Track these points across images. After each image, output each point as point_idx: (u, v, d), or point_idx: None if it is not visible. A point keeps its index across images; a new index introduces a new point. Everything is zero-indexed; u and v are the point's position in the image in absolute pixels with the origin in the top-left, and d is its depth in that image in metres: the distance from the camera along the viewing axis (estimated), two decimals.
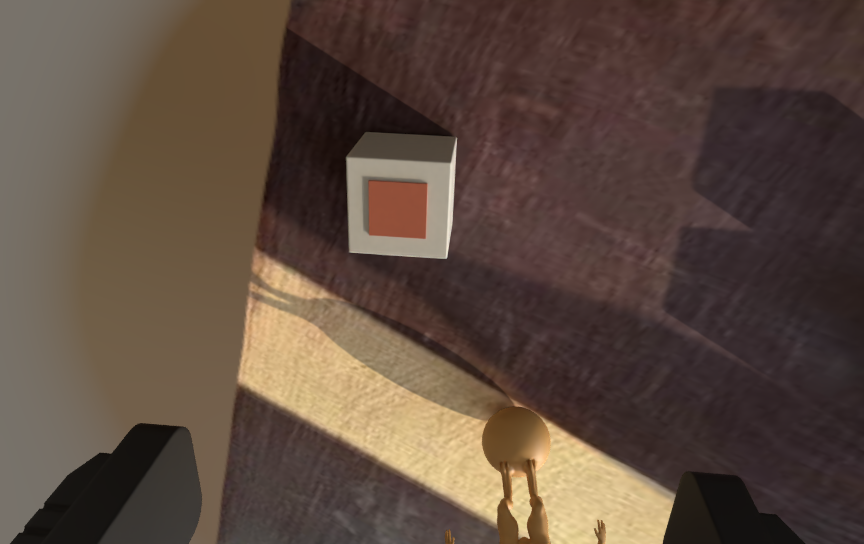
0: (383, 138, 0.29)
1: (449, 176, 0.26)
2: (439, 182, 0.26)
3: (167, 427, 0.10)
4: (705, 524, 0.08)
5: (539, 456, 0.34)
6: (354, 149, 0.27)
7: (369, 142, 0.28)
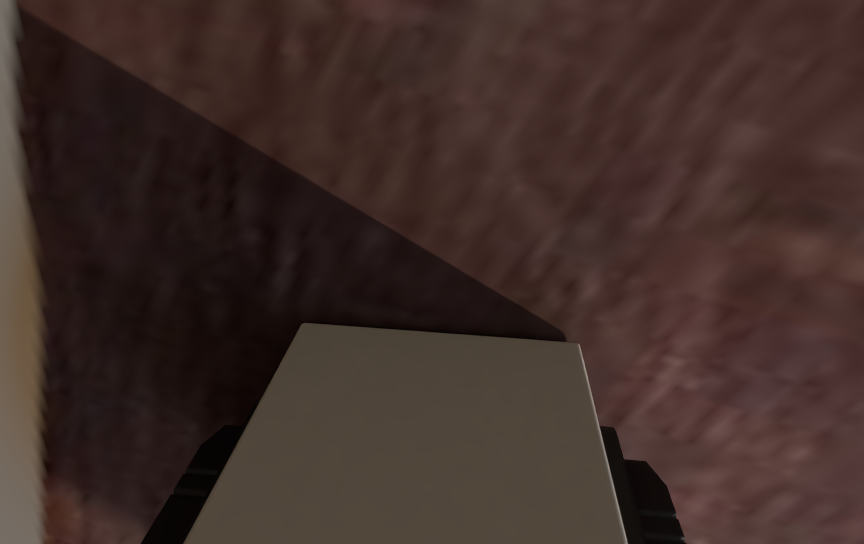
0: (352, 368, 0.09)
1: None
2: None
3: None
4: None
5: None
6: (231, 474, 0.07)
7: (303, 401, 0.08)
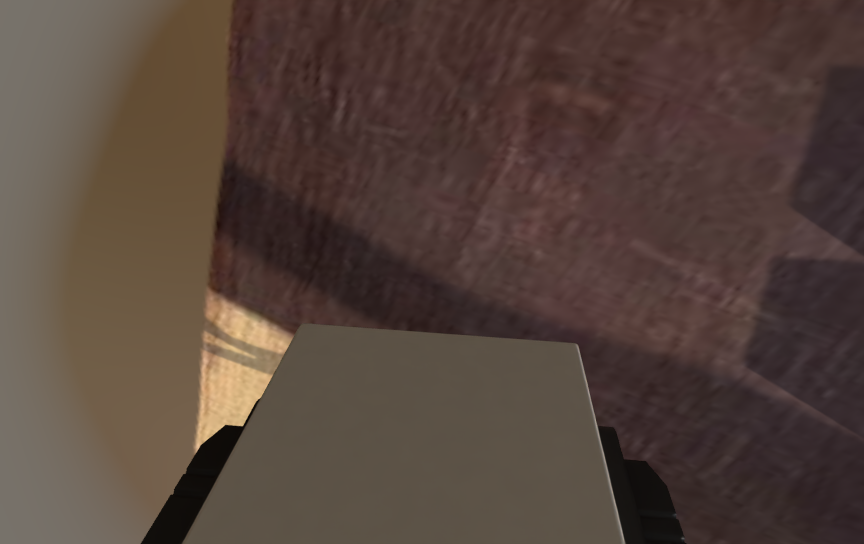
0: (350, 368, 0.09)
1: None
2: None
3: None
4: None
5: None
6: (230, 474, 0.07)
7: (301, 402, 0.08)
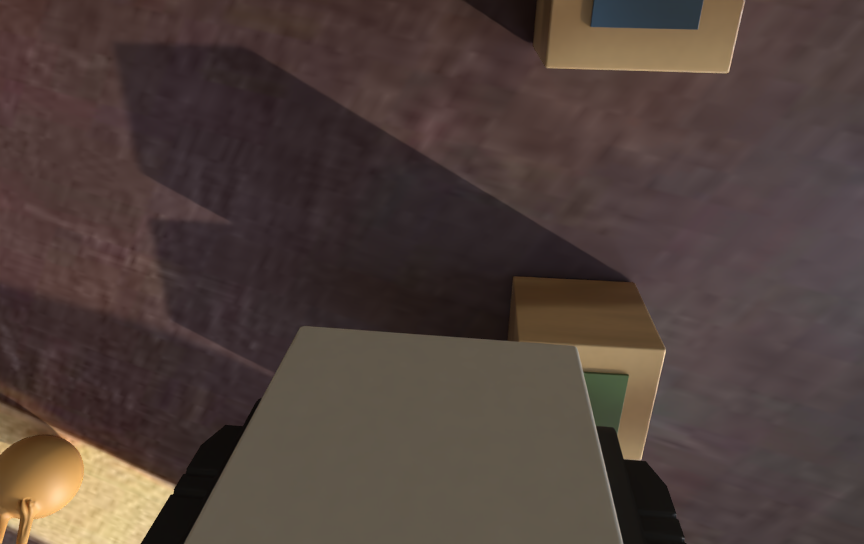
0: (350, 371, 0.09)
1: None
2: None
3: None
4: None
5: (38, 495, 0.29)
6: (230, 477, 0.07)
7: (301, 404, 0.08)
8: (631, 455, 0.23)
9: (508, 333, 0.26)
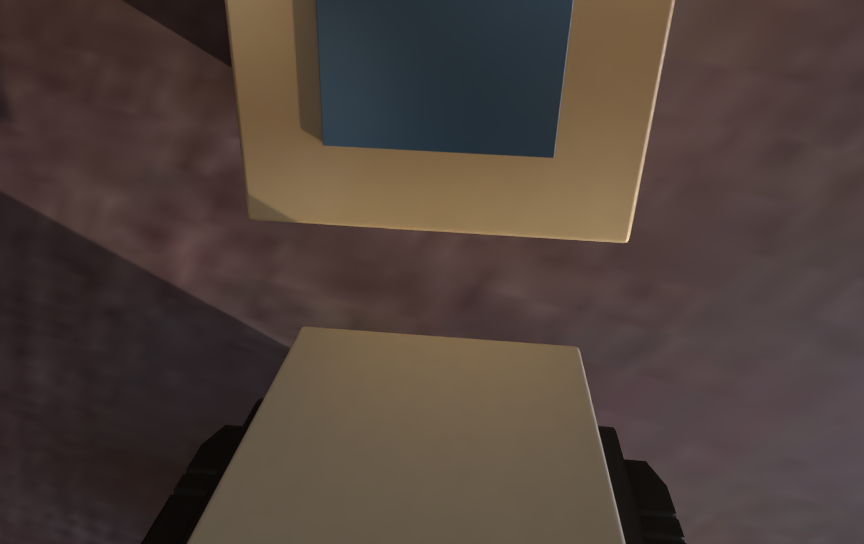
0: (352, 371, 0.09)
1: None
2: None
3: None
4: None
5: None
6: (232, 478, 0.07)
7: (303, 405, 0.08)
8: None
9: None
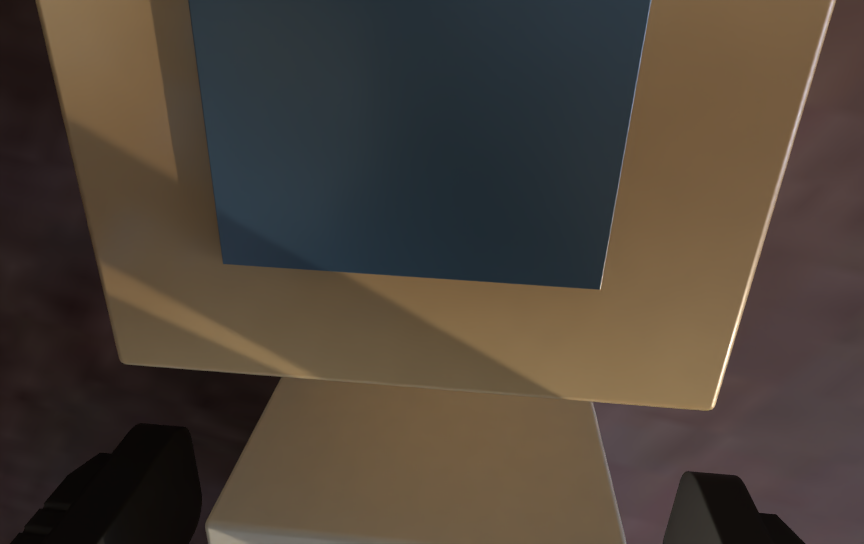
0: None
1: None
2: None
3: (167, 427, 0.10)
4: (705, 524, 0.08)
5: None
6: (253, 450, 0.08)
7: (317, 386, 0.09)
8: None
9: None
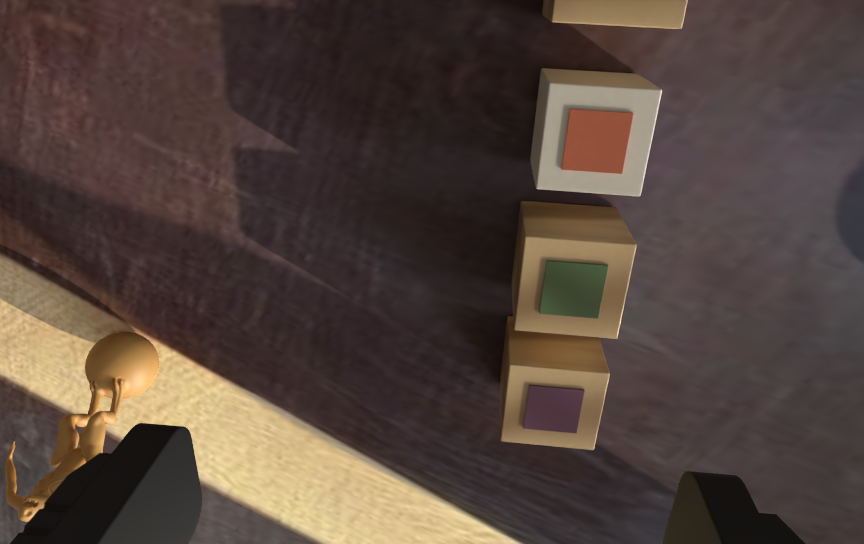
0: (566, 72, 0.28)
1: (657, 105, 0.25)
2: (645, 111, 0.25)
3: (167, 427, 0.10)
4: (705, 524, 0.08)
5: (127, 376, 0.35)
6: (550, 78, 0.26)
7: (557, 74, 0.27)
8: (609, 334, 0.29)
9: (515, 248, 0.33)
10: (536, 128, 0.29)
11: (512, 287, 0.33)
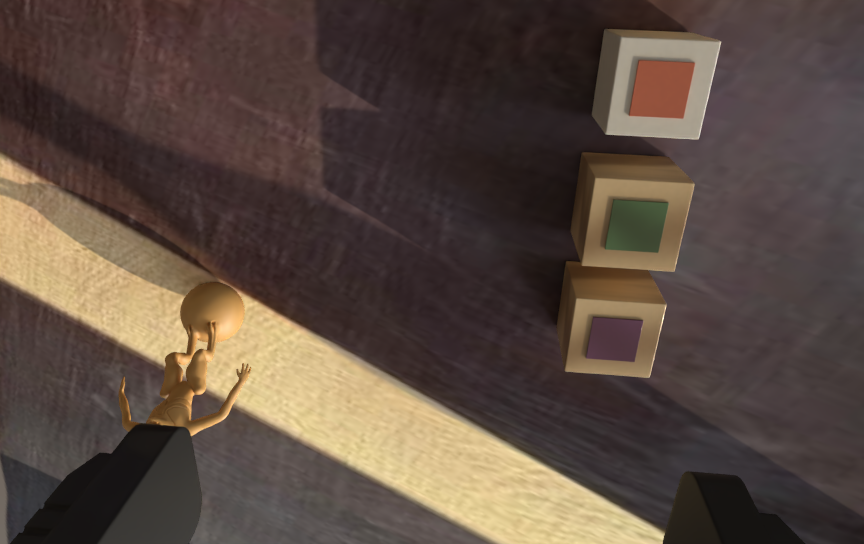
0: (629, 31, 0.31)
1: (716, 55, 0.28)
2: (706, 61, 0.28)
3: (167, 427, 0.10)
4: (705, 524, 0.08)
5: (220, 319, 0.38)
6: (619, 34, 0.29)
7: (623, 32, 0.31)
8: (667, 267, 0.33)
9: (576, 196, 0.36)
10: (601, 82, 0.32)
11: (573, 232, 0.36)
